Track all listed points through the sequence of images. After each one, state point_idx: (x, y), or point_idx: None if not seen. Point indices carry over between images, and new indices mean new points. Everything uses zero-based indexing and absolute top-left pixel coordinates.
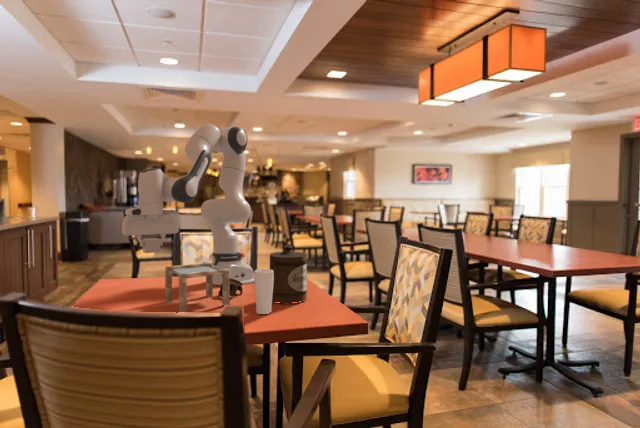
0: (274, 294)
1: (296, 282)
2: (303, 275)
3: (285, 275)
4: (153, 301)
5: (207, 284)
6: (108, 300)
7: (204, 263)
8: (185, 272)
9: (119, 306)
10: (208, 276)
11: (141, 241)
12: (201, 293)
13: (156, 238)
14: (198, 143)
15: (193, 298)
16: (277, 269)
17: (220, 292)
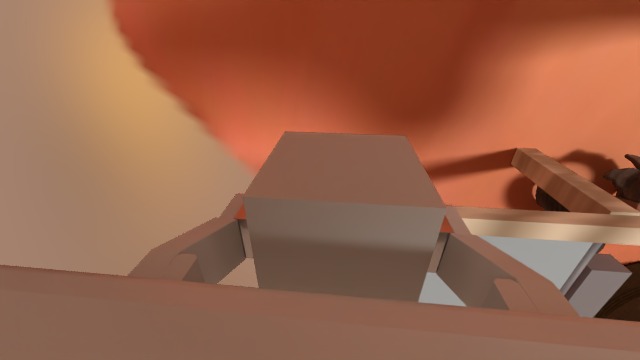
0: (597, 317)
1: None
2: None
3: None
4: (345, 119)
5: (539, 183)
6: (208, 8)
7: (609, 233)
8: (420, 297)
9: (244, 123)
10: (565, 205)
11: (229, 264)
12: (539, 97)
13: (415, 261)
14: None
15: (465, 152)
16: None
17: (548, 196)
